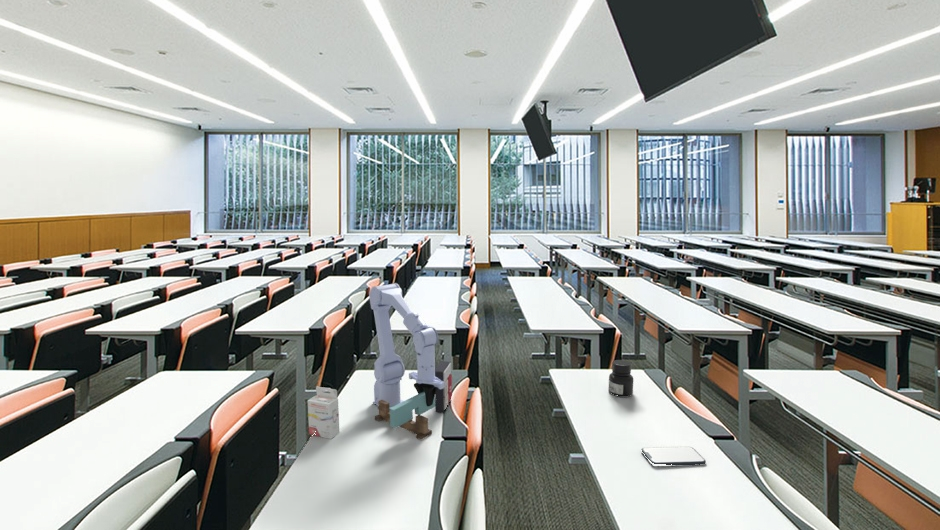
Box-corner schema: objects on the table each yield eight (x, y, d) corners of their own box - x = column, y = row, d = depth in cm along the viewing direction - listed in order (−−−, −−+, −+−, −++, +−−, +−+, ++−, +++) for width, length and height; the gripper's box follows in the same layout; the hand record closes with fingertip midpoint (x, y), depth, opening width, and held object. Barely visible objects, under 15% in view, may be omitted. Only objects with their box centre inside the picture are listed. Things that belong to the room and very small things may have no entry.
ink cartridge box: (308, 435, 157) (305, 391, 155) (317, 428, 162) (315, 385, 159) (331, 439, 154) (328, 395, 152) (340, 432, 159) (338, 388, 157)
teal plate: (394, 428, 151) (393, 410, 150) (390, 426, 152) (389, 408, 151) (435, 406, 164) (434, 389, 163) (431, 405, 165) (430, 388, 164)
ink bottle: (603, 389, 192) (604, 359, 190) (624, 386, 194) (625, 357, 192) (616, 399, 183) (618, 368, 181) (637, 396, 185) (639, 366, 183)
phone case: (691, 450, 148) (639, 452, 147) (691, 445, 148) (639, 447, 146) (707, 467, 139) (652, 468, 138) (707, 461, 139) (653, 463, 138)
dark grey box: (445, 413, 172) (444, 372, 170) (433, 412, 173) (432, 371, 170) (452, 400, 182) (452, 361, 180) (441, 399, 183) (440, 360, 181)
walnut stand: (374, 419, 167) (374, 402, 166) (386, 414, 171) (385, 398, 170) (420, 440, 153) (420, 421, 153) (431, 433, 157) (431, 416, 156)
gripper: (401, 363, 162) (402, 402, 164) (433, 373, 153) (434, 414, 155) (417, 357, 167) (417, 395, 169) (448, 367, 158) (449, 407, 160)
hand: (426, 404), depth 162 cm, fingers closed on teal plate, 2 cm apart
